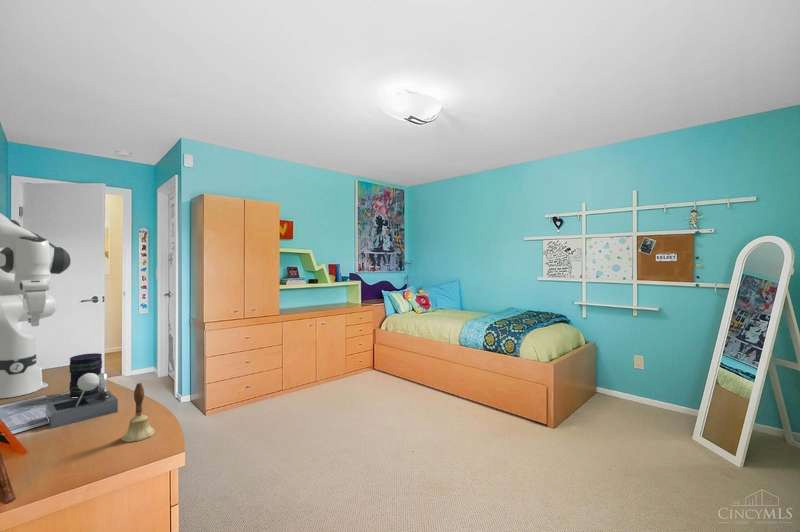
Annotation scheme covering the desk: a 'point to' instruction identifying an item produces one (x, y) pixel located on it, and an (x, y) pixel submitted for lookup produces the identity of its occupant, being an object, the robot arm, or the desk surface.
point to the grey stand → (83, 406)
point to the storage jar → (83, 371)
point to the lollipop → (87, 383)
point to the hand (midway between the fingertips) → (33, 324)
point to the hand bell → (138, 420)
